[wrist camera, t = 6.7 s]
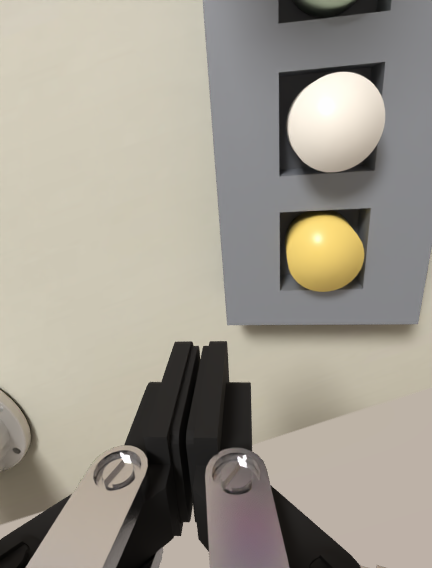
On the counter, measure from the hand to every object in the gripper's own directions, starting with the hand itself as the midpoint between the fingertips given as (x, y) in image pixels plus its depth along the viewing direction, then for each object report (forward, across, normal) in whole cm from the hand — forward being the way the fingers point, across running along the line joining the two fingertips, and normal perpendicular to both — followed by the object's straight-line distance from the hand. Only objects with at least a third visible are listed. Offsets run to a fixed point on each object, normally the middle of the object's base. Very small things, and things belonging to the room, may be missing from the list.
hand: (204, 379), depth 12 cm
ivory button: (+12, -6, -7) cm, 15 cm away
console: (+15, -6, -8) cm, 18 cm away
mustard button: (+14, -6, 0) cm, 15 cm away
